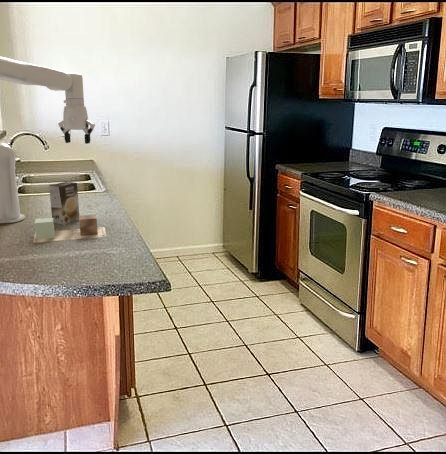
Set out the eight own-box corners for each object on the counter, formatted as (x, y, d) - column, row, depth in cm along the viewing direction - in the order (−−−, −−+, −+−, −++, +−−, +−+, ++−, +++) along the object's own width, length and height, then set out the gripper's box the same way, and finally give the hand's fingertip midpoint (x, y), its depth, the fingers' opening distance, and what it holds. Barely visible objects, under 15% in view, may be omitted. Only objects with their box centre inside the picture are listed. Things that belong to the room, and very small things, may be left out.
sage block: (36, 239, 175) (34, 223, 173) (37, 234, 181) (35, 218, 179) (54, 238, 177) (52, 221, 175) (54, 233, 182) (53, 217, 181)
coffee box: (64, 227, 194) (60, 186, 190) (52, 225, 197) (48, 185, 193) (80, 221, 202) (77, 182, 198) (68, 219, 205) (65, 181, 201)
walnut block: (80, 235, 179) (79, 219, 178) (80, 231, 185) (78, 215, 183) (97, 234, 181) (96, 218, 179) (96, 230, 186) (95, 214, 185)
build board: (32, 245, 172) (32, 242, 172) (35, 235, 184) (34, 232, 184) (107, 239, 179) (106, 235, 178) (104, 229, 191) (104, 226, 190)
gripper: (52, 102, 214) (55, 143, 218) (88, 103, 209) (91, 144, 214) (62, 102, 221) (65, 141, 225) (97, 103, 216) (99, 142, 221)
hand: (77, 143), depth 219 cm, fingers open, 9 cm apart
